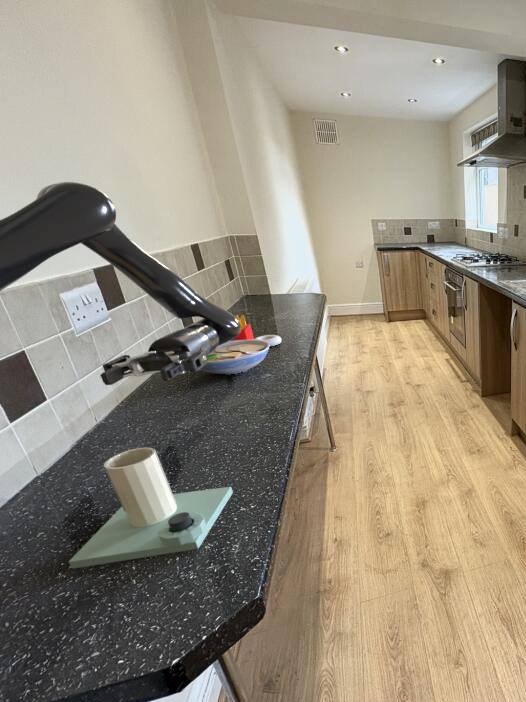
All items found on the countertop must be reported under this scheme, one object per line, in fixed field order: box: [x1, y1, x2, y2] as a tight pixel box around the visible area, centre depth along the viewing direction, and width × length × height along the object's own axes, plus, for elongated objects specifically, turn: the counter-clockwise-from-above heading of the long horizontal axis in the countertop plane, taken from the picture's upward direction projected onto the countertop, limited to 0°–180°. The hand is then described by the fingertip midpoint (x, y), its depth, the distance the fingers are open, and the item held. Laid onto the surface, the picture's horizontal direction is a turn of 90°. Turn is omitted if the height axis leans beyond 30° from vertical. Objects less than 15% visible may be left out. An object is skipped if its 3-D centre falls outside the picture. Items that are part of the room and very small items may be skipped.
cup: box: [103, 446, 177, 527], centre depth 65 cm, size 6×6×11 cm
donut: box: [254, 334, 283, 346], centre depth 157 cm, size 10×4×10 cm
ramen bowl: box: [200, 337, 270, 376], centre depth 131 cm, size 25×23×8 cm
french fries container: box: [231, 314, 255, 341], centre depth 145 cm, size 7×9×14 cm
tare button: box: [168, 512, 193, 533], centre depth 63 cm, size 3×3×2 cm
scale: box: [68, 486, 234, 570], centre depth 66 cm, size 16×14×3 cm
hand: (135, 377), depth 70 cm, fingers open, 8 cm apart
